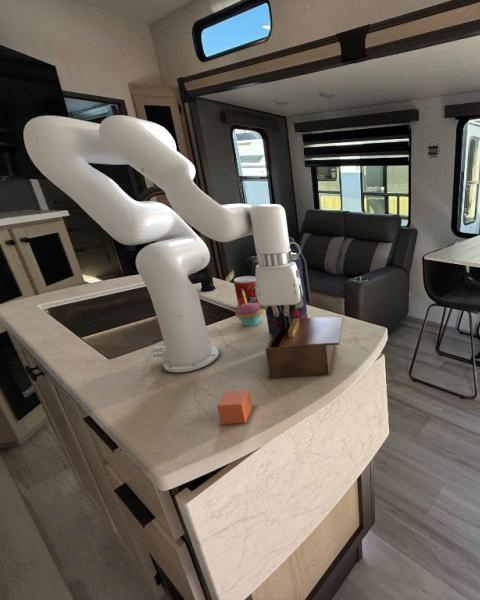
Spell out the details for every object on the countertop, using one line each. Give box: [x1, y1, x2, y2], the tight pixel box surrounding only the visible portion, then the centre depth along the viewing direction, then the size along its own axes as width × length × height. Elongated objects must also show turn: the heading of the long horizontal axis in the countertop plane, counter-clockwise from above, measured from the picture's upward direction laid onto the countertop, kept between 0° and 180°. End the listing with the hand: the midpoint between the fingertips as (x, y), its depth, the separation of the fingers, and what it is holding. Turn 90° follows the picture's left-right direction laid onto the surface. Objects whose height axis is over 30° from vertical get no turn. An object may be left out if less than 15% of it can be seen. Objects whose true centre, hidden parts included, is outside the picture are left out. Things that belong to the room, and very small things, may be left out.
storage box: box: [265, 327, 335, 379], centre depth 84 cm, size 14×16×8 cm
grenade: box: [265, 236, 312, 337], centre depth 96 cm, size 14×12×30 cm
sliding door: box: [279, 316, 344, 348], centre depth 82 cm, size 14×16×2 cm
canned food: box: [233, 275, 259, 307], centre depth 120 cm, size 8×8×11 cm
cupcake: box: [235, 289, 264, 327], centre depth 105 cm, size 9×8×12 cm
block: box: [216, 389, 253, 425], centre depth 64 cm, size 4×4×4 cm
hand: (285, 328), depth 81 cm, fingers closed
